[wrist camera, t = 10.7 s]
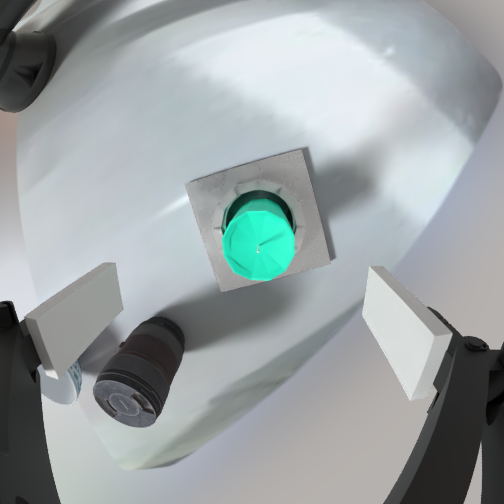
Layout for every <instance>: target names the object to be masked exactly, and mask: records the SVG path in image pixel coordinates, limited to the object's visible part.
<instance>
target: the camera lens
mask: <svg viewBox="0 0 504 504" xmlns="http://www.w3.org/2000/svg"><path fill="white" fill-rule="evenodd" d="M184 342H185V340H184V335H183V333H182V331H181V329H180V328H179V327H178V326H177V325H176V324H175V323H174V322H172V321H171V320H169V319H167V318H163V317H153V318H150V319H148V320H147V321H144V322H142V323H141V324H140V325H139V326H138V327H137V328H136V329H134V330H133V331H132V333H131V334H130V335H129V337H128V338H127V339H126V341H125V342H122V343H121V344H120V346H119V347H118V349H117V350H116V352H115V355H114V356H113V357H112V358H111V359H110V360H109V362H108V363H107V364H106V366H105V367H104V369H103V370H102V371H101V373H100V374H99V375H98V377H97V380H96V384H95V385H94V388H93V394H94V397H95V400H96V402H97V403H98V404H99V406H100V407H101V408H102V409H103V410H104V411H105V412H106V413H107V414H108V415H109V416H111V417H112V418H114V419H115V420H117V421H119V422H121V423H123V424H125V425H128V426H132V427H138V428H144V427H149V426H151V425H152V424H154V423H155V421H156V419H157V417H158V416H159V415H160V414H161V412H162V409H163V406H164V404H165V401H166V399H167V397H168V393H169V389H170V385H171V383H172V381H173V378H174V376H175V374H176V372H177V370H178V368H179V366H180V363H181V361H182V356H183V353H184Z"/></svg>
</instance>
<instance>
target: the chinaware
mask: <svg viewBox="0 0 504 504" xmlns="http://www.w3.org/2000/svg"><path fill="white" fill-rule="evenodd" d="M37 369H38V371H39V374H40V384H41V393H42V394H43V395H44V396H46V397H47V398H49V399H50V400H52V401H54V402H56V403H58V404H61V405H66V406H69V405H72V404H74V403H75V402H76V400H77V398H78V396H79V393H80V389H81V383H82V375H81V369H80V365H79V362H78V359H77V360H76V361H75V362H74V363H73V364H72V365H71V367H70V368H69V369H68V370H67V371H66V372H65V373H64V375H63V376H62V377H61V378H60V379H59V380H58V379H55V378H53V377H50V376H47V375H46V373H45V371H44V368H43V366H42V364H41V365H40V366H39V367H38V368H37Z"/></svg>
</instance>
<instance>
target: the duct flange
mask: <svg viewBox="0 0 504 504" xmlns="http://www.w3.org/2000/svg"><path fill="white" fill-rule="evenodd" d="M185 187H186V190H187V193H188V196H189V199H190V202H191V205H192V209H193V212H194V215H195V218H196V221H197V224H198V227H199V230H200V233H201V236H202V239H203V242H204V245H205V248H206V251H207V254H208V257H209V259H210V262H211V265H212V268H213V271H214V274H215V277H216V279H217V282H218V285H219V288H220V291H221V292H225V291H229V290H233V289H237V288H241V287H245V286H249V285H253V284H257V283H261V282H265V281H263V280H250V279H247V278H245V277H243V276H240V275H238V274H236V273H234V272H233V271H232V269H231V267H230V266H229V264H228V262H227V261H226V259H225V257H224V254H223V245H222V237H223V235H224V233H225V231H226V229H227V227H228V225H229V223H230V221H231V220H232V219H233V217H234V216H235V215H236V213H237V212H238V211H239V209H240V208H241V207H242V206H243V205H245V204H246V203H248V202H250V201H251V200H253V199H268V200H270V201H272V202H274V203H276V204H278V205H279V206H280V207H281V209H282V211H283V212H284V214H285V215H286V217H287V220H288V222H289V224H290V226H291V229H292V231H293V233H294V238H295V255H294V257H293V259H292V261H291V262H290V264H289V266H288V268H287V269H286V271H285V272H283V273H281V274H280V275H278V276H276V277H275V278H273V279H276V278H280V277H284V276H288V275H291V274H295V273H299V272H302V271H306V270H310V269H313V268H317V267H321V266H324V265H328V264H331V262H330V258H329V253H328V249H327V244H326V240H325V236H324V232H323V227H322V223H321V219H320V215H319V211H318V207H317V203H316V200H315V196H314V192H313V188H312V185H311V181H310V177H309V174H308V170H307V167H306V163H305V160H304V156H303V153H302V150H301V149H300V150H296V151H292V152H288V153H285V154H281V155H277V156H273V157H270V158H266V159H263V160H259V161H256V162H252V163H249V164H245V165H242V166H239V167H236V168H232V169H229V170H226V171H223V172H220V173H216V174H213V175H210V176H207V177H204V178H201V179H198V180H196V181H193V182H190V183H187V184H185Z"/></svg>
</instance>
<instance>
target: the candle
mask: <svg viewBox="0 0 504 504" xmlns="http://www.w3.org/2000/svg"><path fill="white" fill-rule="evenodd" d="M222 245H223V254H224V257H225V259H226V261H227V262H228V264H229V266H230V267H231V269H232V271H233V272H234V273H236V274H238V275H240V276H243V277H245V278H247V279H250V280H263V281H270V280H272V279H273V278H275V277H276V276H278V275H280V274H281V273H283V272H285V271H286V269H287V268H288V266H289V264H290V262H291V261H292V259H293V257H294V255H295V238H294V233H293V231H292V229H291V226H290V224H289V222H288V220H287V217H286V215H285V214H284V212H283V211H282V209H281V207H280V206H279V205H278V204H276V203H274V202H272V201H270V200H268V199H253V200H251V201H250V202H248V203H246V204H245V205H243V206H242V207H241V208H240V209H239V211H238V212H237V213H236V215H235V216H234V217H233V219H232V220H231V221H230V223H229V225H228V227H227V229H226V231H225V233H224V235H223V237H222Z"/></svg>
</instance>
